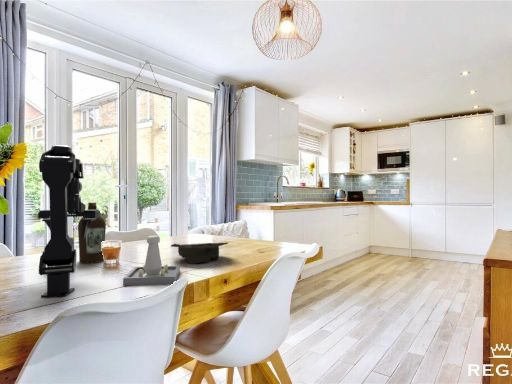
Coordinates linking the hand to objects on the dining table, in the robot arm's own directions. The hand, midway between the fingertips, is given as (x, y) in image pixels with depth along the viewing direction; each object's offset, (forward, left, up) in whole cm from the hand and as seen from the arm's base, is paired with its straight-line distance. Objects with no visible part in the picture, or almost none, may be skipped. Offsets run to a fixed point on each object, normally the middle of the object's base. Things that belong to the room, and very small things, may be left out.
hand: (69, 238), depth 115 cm
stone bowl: (+23, -44, -13) cm, 51 cm away
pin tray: (-7, -30, -13) cm, 33 cm away
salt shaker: (-7, -30, -12) cm, 33 cm away
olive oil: (+24, +1, -13) cm, 27 cm away
